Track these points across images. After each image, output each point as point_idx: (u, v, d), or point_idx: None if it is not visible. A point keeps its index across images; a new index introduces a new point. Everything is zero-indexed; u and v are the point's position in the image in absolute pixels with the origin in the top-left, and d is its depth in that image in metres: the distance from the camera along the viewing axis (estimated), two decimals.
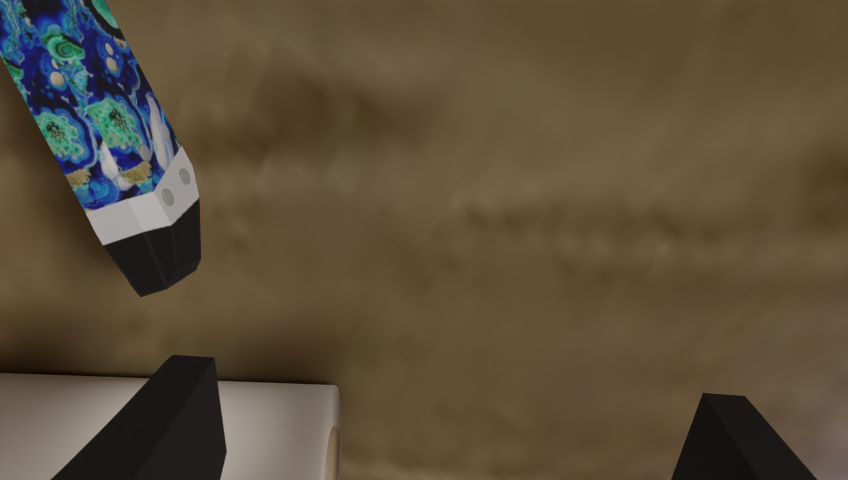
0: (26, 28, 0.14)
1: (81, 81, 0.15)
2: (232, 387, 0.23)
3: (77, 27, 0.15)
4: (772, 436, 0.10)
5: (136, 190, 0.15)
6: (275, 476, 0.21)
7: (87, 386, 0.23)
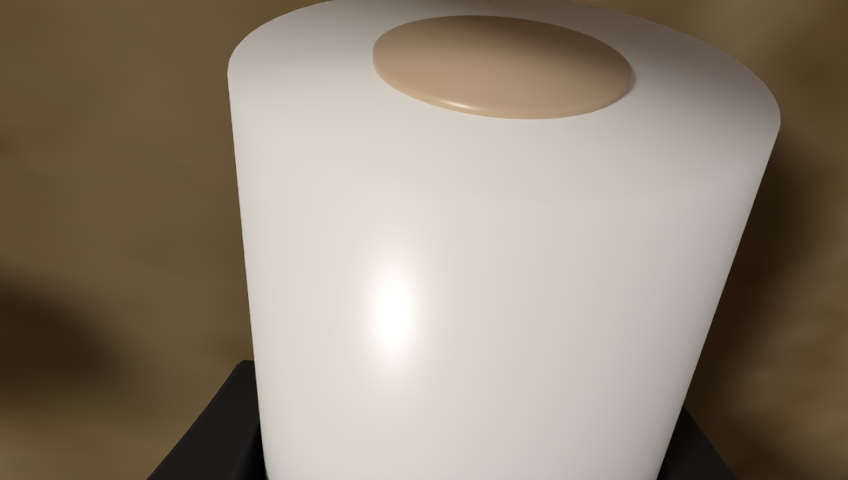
0: None
1: None
2: None
3: None
4: (693, 430, 0.10)
5: None
6: (290, 271, 0.06)
7: None
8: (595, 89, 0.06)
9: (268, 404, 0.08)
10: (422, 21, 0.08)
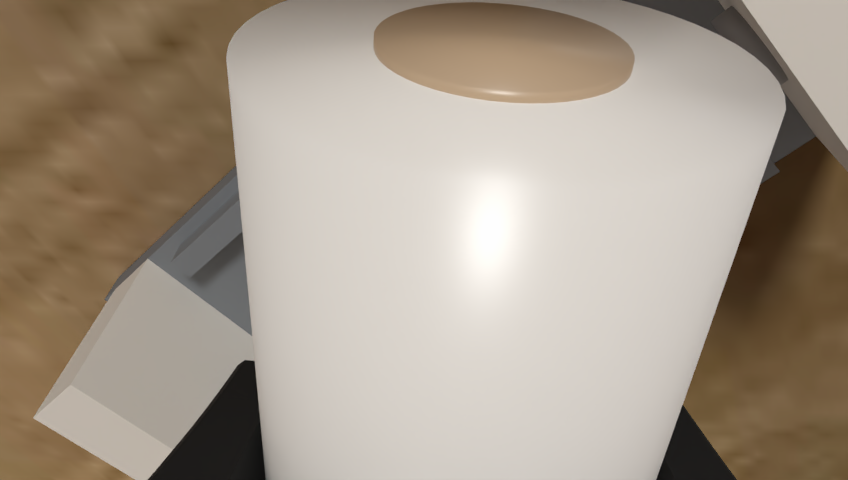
0: None
1: None
2: None
3: None
4: (692, 430, 0.10)
5: None
6: (289, 258, 0.06)
7: None
8: (598, 74, 0.06)
9: (267, 394, 0.08)
10: (423, 8, 0.08)
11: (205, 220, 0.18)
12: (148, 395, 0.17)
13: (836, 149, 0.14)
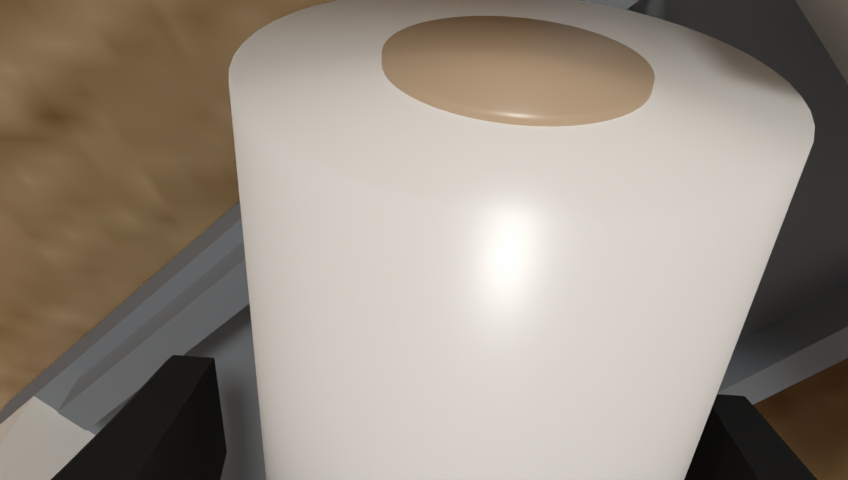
0: None
1: None
2: None
3: None
4: (772, 435, 0.10)
5: None
6: (304, 294, 0.06)
7: None
8: (621, 92, 0.06)
9: (275, 432, 0.07)
10: (428, 23, 0.07)
11: (108, 352, 0.13)
12: None
13: None
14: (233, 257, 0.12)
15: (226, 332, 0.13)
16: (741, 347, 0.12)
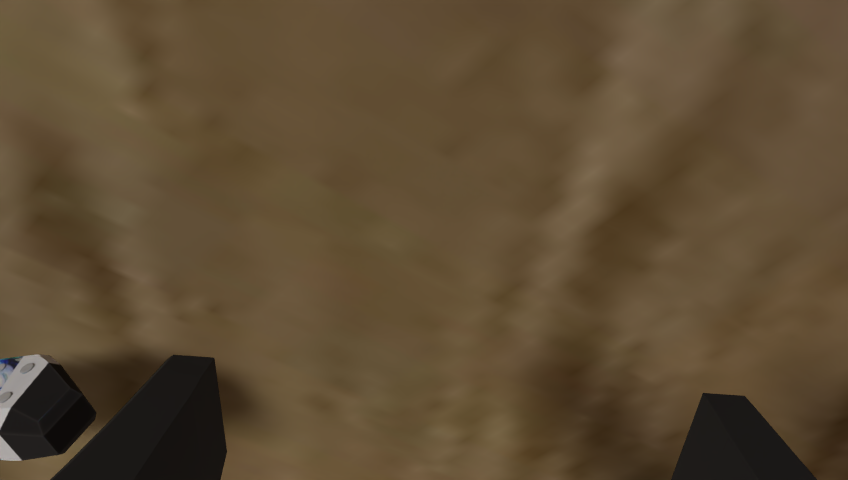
0: None
1: None
2: None
3: None
4: (772, 435, 0.10)
5: None
6: None
7: None
8: None
9: None
10: None
11: None
12: None
13: None
14: None
15: None
16: None
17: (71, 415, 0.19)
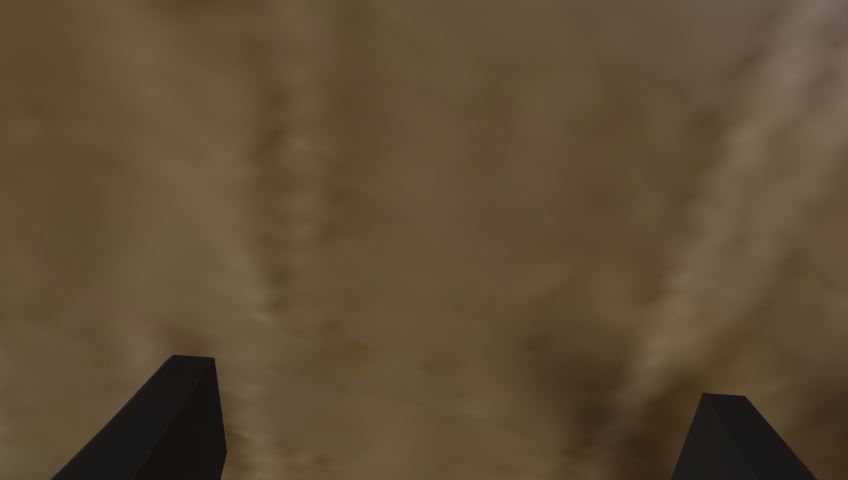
0: None
1: None
2: None
3: None
4: (772, 435, 0.10)
5: None
6: None
7: None
8: None
9: None
10: None
11: None
12: None
13: None
14: None
15: None
16: None
17: None
